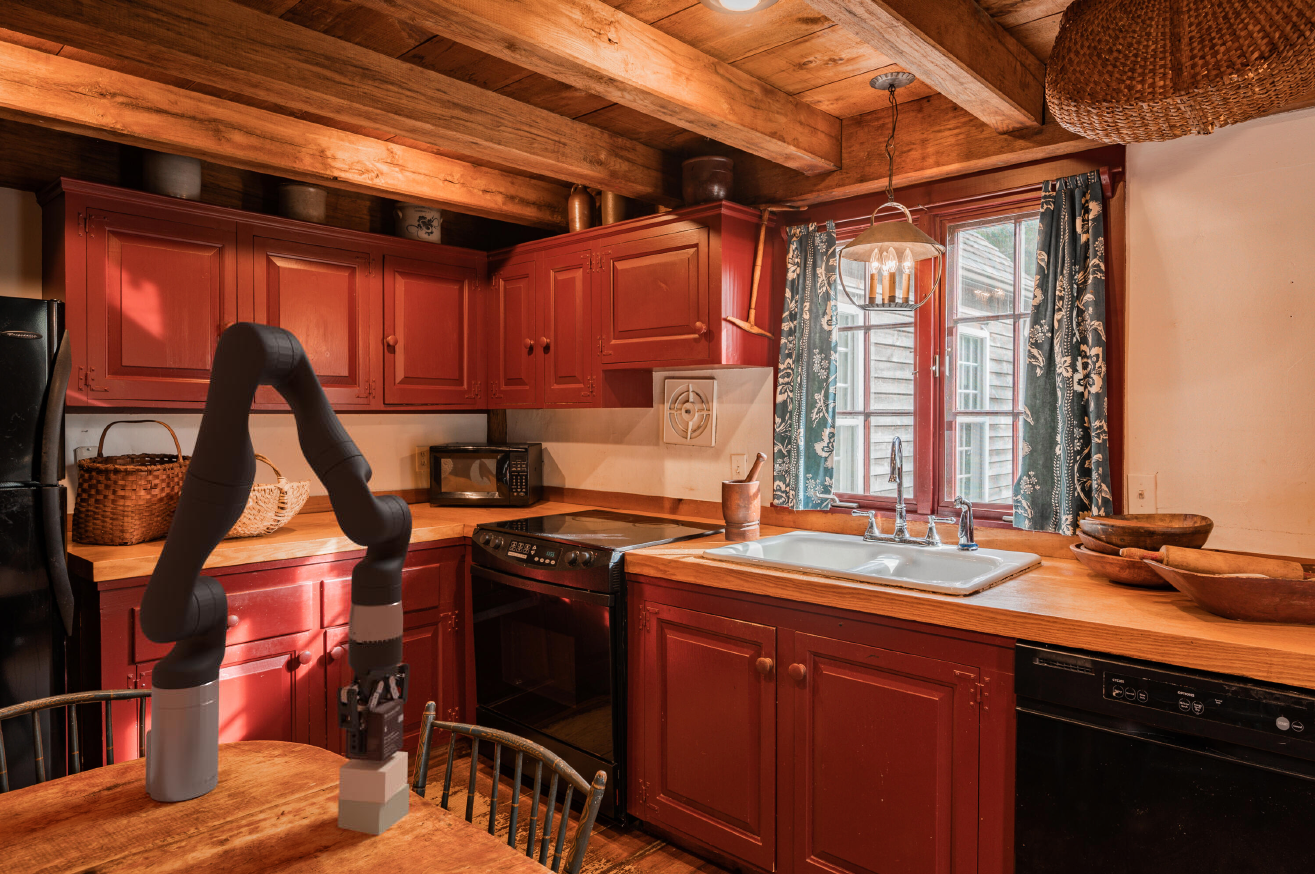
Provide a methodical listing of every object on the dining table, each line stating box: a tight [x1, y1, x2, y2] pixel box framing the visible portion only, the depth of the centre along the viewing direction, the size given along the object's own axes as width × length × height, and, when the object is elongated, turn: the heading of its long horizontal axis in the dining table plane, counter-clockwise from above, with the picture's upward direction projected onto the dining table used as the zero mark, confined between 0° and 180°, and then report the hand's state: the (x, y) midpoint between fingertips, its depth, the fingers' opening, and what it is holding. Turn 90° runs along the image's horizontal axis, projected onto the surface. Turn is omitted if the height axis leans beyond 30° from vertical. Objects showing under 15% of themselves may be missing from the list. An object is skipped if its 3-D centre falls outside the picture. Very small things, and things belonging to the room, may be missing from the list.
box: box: [344, 699, 404, 762], centre depth 117 cm, size 6×6×7 cm
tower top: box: [338, 750, 409, 803], centre depth 117 cm, size 7×7×4 cm
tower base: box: [337, 783, 410, 836], centre depth 117 cm, size 7×7×4 cm
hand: (373, 744), depth 117 cm, fingers closed on box, 6 cm apart
